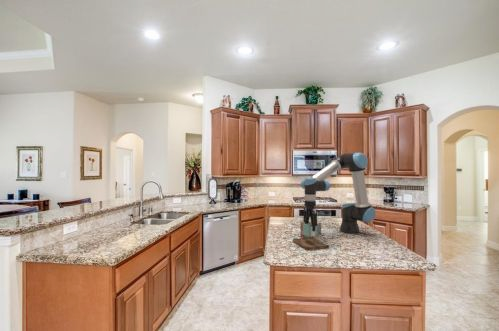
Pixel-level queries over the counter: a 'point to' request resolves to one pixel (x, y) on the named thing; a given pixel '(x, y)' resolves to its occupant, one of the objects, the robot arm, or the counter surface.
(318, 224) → the stack of blocks
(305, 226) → the cube
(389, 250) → the counter surface
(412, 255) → the counter surface
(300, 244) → the board
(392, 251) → the counter surface
